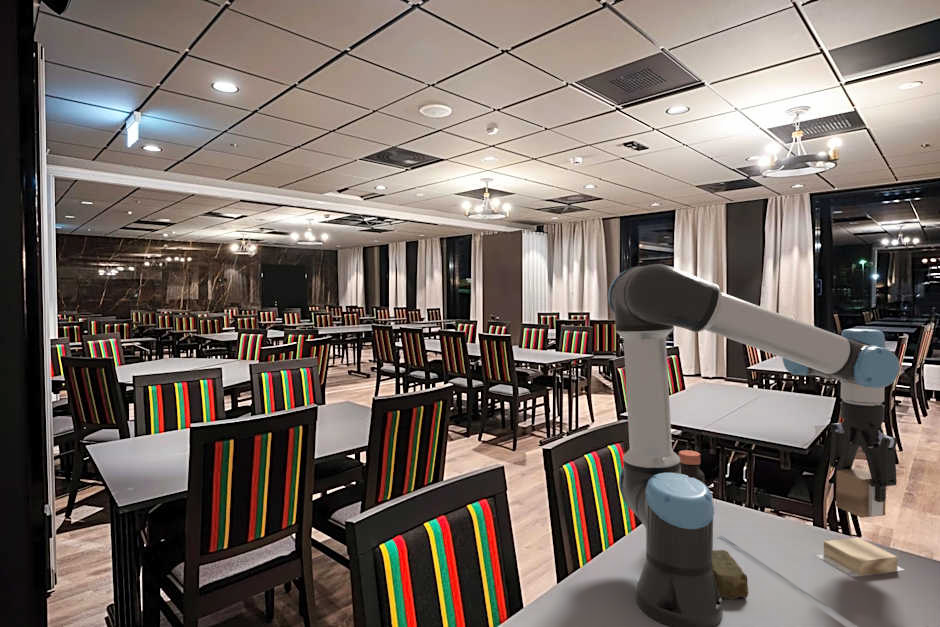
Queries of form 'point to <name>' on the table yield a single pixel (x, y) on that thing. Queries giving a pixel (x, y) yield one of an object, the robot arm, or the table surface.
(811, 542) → the table surface
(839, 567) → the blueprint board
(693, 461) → the bottle
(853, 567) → the oak plinth
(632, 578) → the table surface
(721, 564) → the stone block
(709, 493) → the robot arm
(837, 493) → the walnut block
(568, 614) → the table surface
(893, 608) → the table surface
